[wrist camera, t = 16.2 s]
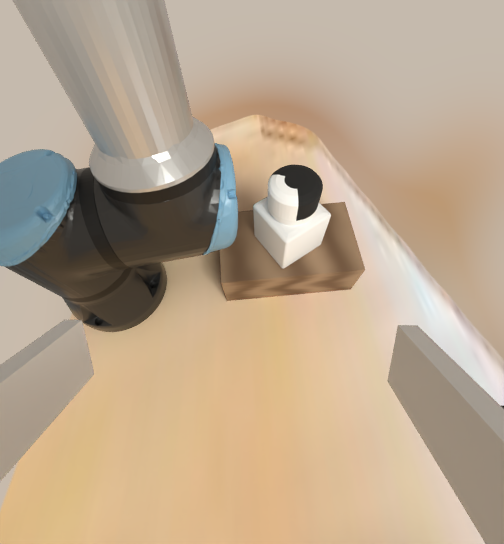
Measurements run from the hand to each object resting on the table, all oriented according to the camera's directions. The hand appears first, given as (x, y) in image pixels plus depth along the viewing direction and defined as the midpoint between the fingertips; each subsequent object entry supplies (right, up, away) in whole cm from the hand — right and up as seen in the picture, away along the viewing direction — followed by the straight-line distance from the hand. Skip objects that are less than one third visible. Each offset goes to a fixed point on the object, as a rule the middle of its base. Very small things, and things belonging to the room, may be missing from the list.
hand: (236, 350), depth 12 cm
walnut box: (+6, +5, +35) cm, 36 cm away
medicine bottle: (+6, +8, +29) cm, 31 cm away
